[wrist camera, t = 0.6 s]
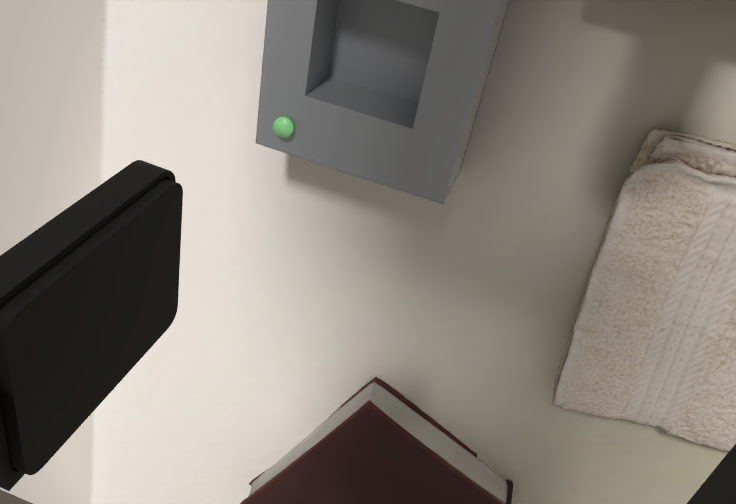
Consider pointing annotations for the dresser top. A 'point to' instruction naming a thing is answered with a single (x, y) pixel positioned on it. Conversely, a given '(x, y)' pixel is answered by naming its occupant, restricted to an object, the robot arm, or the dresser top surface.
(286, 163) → the dresser top surface
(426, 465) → the book
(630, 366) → the washcloth
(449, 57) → the port
